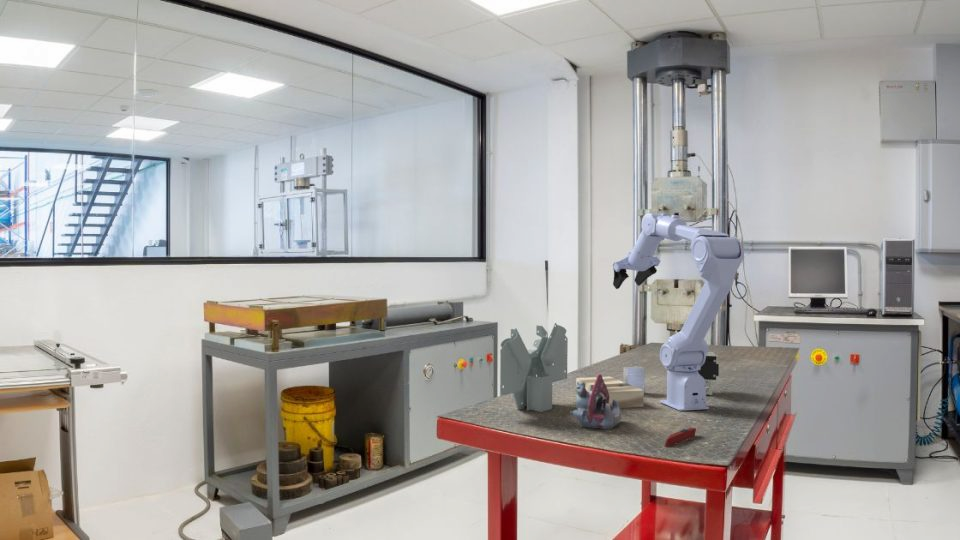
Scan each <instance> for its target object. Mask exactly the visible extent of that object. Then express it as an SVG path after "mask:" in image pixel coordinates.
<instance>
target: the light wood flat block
mask: <svg viewBox="0 0 960 540" xmlns="http://www.w3.org/2000/svg"><path fill="white" fill-rule="evenodd" d="M575 378H576V379H575V387H576V386H577V382H579V383H581V382H584V383H585V389H586V390H587V391H592V389H593V387H594V383H595V381H596V378H597V376H592V377H591V376H590V377H587V376H586V377H575ZM602 378H603V380H604V383H605V384H606V387H607V390H608V393H609V405H610V406H612V403H613V400H614V399H616V400H617V401H618V403H619V407H620V409H624V408H627V409H628V408H642V407H644V402H645V401H644V400H645V399H644V397H645V394H644V390H642V389H639V388H637V387H634V386H632V385H630V384H627V383H625V382H623V380H620V379H617V378H616V377H615V378H614V377H612V376H602ZM601 387H602V386H601ZM575 393H576V394H577V395H578V393H577V392H576V391H575ZM600 394H601V395H602V396H603V398H604V395H603V393H602V392H600Z"/></svg>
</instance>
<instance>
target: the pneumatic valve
mask: <svg viewBox="0 0 960 540" xmlns="http://www.w3.org/2000/svg"><path fill="white" fill-rule="evenodd" d="M719 357H720V355H719V354H717V353H715V352H714V351H711V350H709V351H707V353H706V359H705V362H704V364H703V365H702V366H701V370H698V373H699V375H701V376H702V377H703V378H704V380H705V382H706V395H709V396H713V387H712V386H713V385H714V383H713V382H712V381H717V377H719V375H720V373H719V371H720V370H719V369H720V367H719V365H720V364H719V362H718V360H717V359H719Z"/></svg>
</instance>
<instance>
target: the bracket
mask: <svg viewBox="0 0 960 540" xmlns="http://www.w3.org/2000/svg"><path fill="white" fill-rule="evenodd" d="M535 328H536V333H535V334H536V336H538V337H540V338H538V339H535V340H534V342H533V345H532V346H533V347H535V348H536V349H527V347H526V344H525V343H524V341H523V339H522V337H521V335H520V332H519V331H518V329H517V328H510V337H507V338H505V339H504V340H502V341H501V343H500V347H501V349H500V351H499V353H500V358H499V360H500V361H499V362H500V365H499V367H500V370H499V371H500V374H499V376H500V377H499V381H500V384H499V386H500V387H499V390H500V391H499V397H502V396H507V395H511V394H512V397H513V399H514V400H513V401H514V403H515V406H516V409H517V410H518V411H519V410H523V409H525V407H526V411H535V412H539V413H541V412H543V413H544V412H546V411H549V410H552V409H553V383H555V382H560V381H564V380H567V379H568V345H569V344H568V339H569V338H568V336H567V335H566V333H567V329H566V328H565V327H564V326H562V325H559V324H557V323H556V322H554V325H553V327H552V330H551V332H550V334H549V337H547V335H548V331H547V330H546V329H545V328H544V326H543V325H536V327H535Z"/></svg>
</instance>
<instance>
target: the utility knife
mask: <svg viewBox="0 0 960 540" xmlns="http://www.w3.org/2000/svg"><path fill="white" fill-rule="evenodd" d="M696 431H697V428H696V427H689V428H686V429H685V428H682V429H681V430H679V431H677V432H675V433H672V434H670V435H669V436H667V438H666V441H665V443H664V447H665V448H668V446H669V447H672V446H675V445H677V444H676V443H678V444H680V443H682V441H683V442H684V441H687V439H688V440H690V439H693V438H695V434H696ZM692 437H693V438H692ZM689 438H690V439H689ZM674 444H675V445H674ZM671 445H672V446H671Z"/></svg>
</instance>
